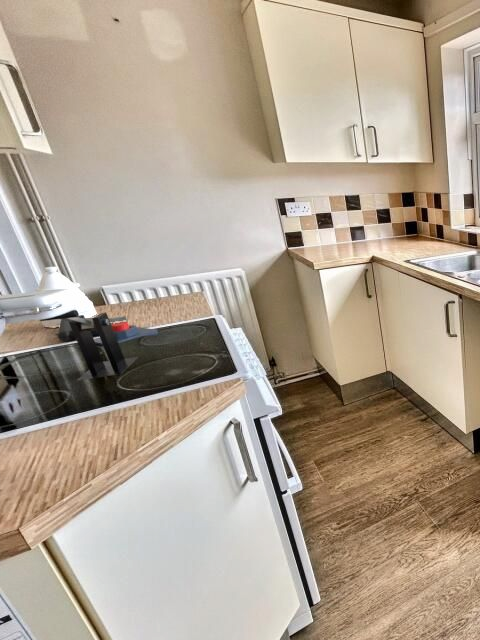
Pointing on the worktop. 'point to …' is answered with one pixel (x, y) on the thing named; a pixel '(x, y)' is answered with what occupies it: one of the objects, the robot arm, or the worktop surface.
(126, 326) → the button
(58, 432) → the worktop surface
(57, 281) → the honey pot
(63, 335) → the door handle
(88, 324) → the lever
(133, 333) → the button box
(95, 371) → the bracket
